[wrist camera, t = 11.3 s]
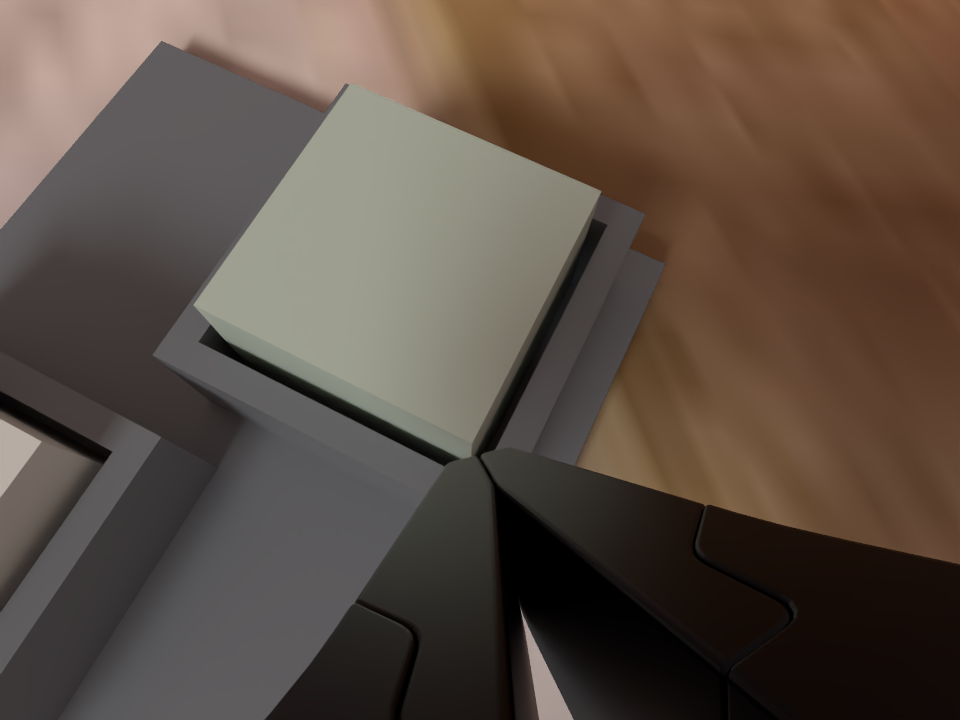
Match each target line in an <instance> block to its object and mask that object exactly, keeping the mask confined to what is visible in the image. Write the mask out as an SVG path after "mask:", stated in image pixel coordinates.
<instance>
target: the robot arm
mask: <svg viewBox="0 0 960 720" xmlns="http://www.w3.org/2000/svg"><path fill="white" fill-rule="evenodd" d="M520 607H521V610H522V613H523V616H524V618H525V620H526V622H527V625H528V627H529V629H530V631H531V633H532V635H533V638H534V640H535V642H536V644H537V646H538V648H539V650H540V652H541V654H542V656H543V658H544V660H545V662H546V664H547V666H548V668H549V670H550V672H551V674H552V676H553V678H554V680H555V682H556V684H557V686H558V688H559V690H560V693H561V695H562V697H563V699H564V701H565V703H566V705H567V707H568V709H569V711H570V713H571V715H572V717H573V719H574V720H960V564H956V563H951V562H946V561H942V560H937V559H932V558H928V557H923V556H918V555H914V554H909V553H904V552H900V551H895V550H891V549H886V548H881V547H877V546H872V545H867V544H863V543H858V542H853V541H849V540H844V539H840V538H836V537H831V536H827V535H822V534H818V533H814V532H809V531H805V530H801V529H796V528H792V527H788V526H784V525H780V524H776V523H773V522H769V521H765V520H761V519H758V518H754V517H750V516H747V515H743V514H739V513H736V512H733V511H729V510H726V509H723V508H719V507H716V506H713V505H707V506H706V507H705V506H704V505H703V504H701V503H698V502H695V501H691V500H688V499H684V498H681V497H678V496H674V495H671V494H668V493H664V492H661V491H657V490H654V489H651V488H647V487H644V486H641V485H637V484H634V483H630V482H627V481H624V480H620V479H617V478H613V477H610V476H607V475H603V474H600V473H597V472H593V471H590V470H586V469H583V468H580V467H576V466H573V465H569V464H566V463H563V462H559V461H556V460H553V459H549V458H546V457H542V456H539V455H536V454H532V453H529V452H526V451H522V450H519V449H515V448H512V447H506V448H502V449H498V450H494V451H490V452H487V453H484V454H482V455H481V458H480V459H479V458H478V457H476V456H471V457H467V458H464V459H460V460H456V461H452V462H449V463H448V464H447V465H446V466H445V467H444V469H443V470H442V472H441V473H440V475H439V476H438V478H437V479H436V481H435V482H434V484H433V485H432V487H431V488H430V490H429V491H428V493H427V494H426V496H425V497H424V499H423V500H422V502H421V503H420V505H419V506H418V508H417V509H416V511H415V512H414V514H413V515H412V517H411V518H410V520H409V521H408V523H407V524H406V526H405V527H404V529H403V530H402V532H401V533H400V535H399V536H398V538H397V539H396V541H395V542H394V544H393V545H392V547H391V548H390V550H389V551H388V553H387V554H386V556H385V557H384V559H383V560H382V562H381V563H380V565H379V566H378V568H377V569H376V571H375V572H374V574H373V575H372V577H371V578H370V580H369V581H368V583H367V584H366V586H365V587H364V589H363V590H362V592H361V593H360V595H359V596H358V598H357V599H356V601H355V603H354V604H353V605H351V606H350V608H349V609H348V611H347V612H346V613H345V615H344V616H343V618H342V619H341V621H340V622H339V624H338V625H337V627H336V628H335V630H334V631H333V633H332V634H331V635H330V637H329V638H328V639H327V641H326V642H325V644H324V645H323V646H322V648H321V649H320V651H319V652H318V653H317V655H316V656H315V658H314V659H313V660H312V662H311V663H310V664H309V666H308V667H307V668H306V669H305V671H304V672H303V673H302V674H301V676H300V677H299V678H298V679H297V681H296V682H295V683H294V684H293V685H292V687H291V688H290V689H289V690H288V692H287V693H286V694H285V695H284V697H283V698H282V699H281V700H280V702H279V703H278V704H277V705H276V707H275V708H274V709H273V710H272V711H271V713H270V714H269V715H268V716H267V717H266V718H265V720H539V716H538V710H537V704H536V698H535V691H534V685H533V679H532V673H531V666H530V660H529V654H528V648H527V641H526V635H525V630H524V625H523V620H522V615H521V610H520Z"/></svg>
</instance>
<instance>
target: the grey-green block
mask: <svg viewBox="0 0 960 720" xmlns="http://www.w3.org/2000/svg"><path fill="white" fill-rule="evenodd" d="M601 192H602V191H600V190H598V189H595V188H593V187H591V186H589V185H586V184H584V183H582V182H579V181H577V180H575V179H572V178H570V177H568V176H565V175H563V174H561V173H559V172H556V171H554V170H552V169H549V168H547V167H545V166H542V165H540V164H538V163H535V162H533V161H531V160H529V159H526V158H524V157H522V156H519V155H517V154H515V153H512V152H510V151H508V150H505V149H503V148H501V147H499V146H496V145H494V144H492V143H489V142H487V141H485V140H482V139H480V138H478V137H475V136H473V135H471V134H469V133H466V132H464V131H462V130H459V129H457V128H455V127H452V126H450V125H448V124H445V123H443V122H441V121H439V120H436V119H434V118H432V117H429V116H427V115H425V114H422V113H420V112H418V111H415V110H413V109H411V108H409V107H406V106H404V105H402V104H399V103H397V102H395V101H392V100H390V99H388V98H385V97H383V96H381V95H379V94H376V93H374V92H372V91H369V90H367V89H365V88H362V87H360V86H358V85H355V84H353V83H350V85H349V86H348V88H347V89H346V90H345V92H344V93H343V95H342V96H341V97H340V99H339V100H338V102H337V103H336V105H335V106H334V107H333V109H332V110H331V112H330V113H329V114H328V116H327V117H326V119H325V120H324V121H323V123H322V124H321V126H320V127H319V129H318V130H317V131H316V133H315V134H314V136H313V137H312V138H311V140H310V141H309V143H308V144H307V145H306V147H305V148H304V150H303V151H302V152H301V154H300V155H299V157H298V158H297V160H296V161H295V162H294V164H293V165H292V167H291V168H290V169H289V171H288V172H287V174H286V175H285V176H284V178H283V179H282V181H281V182H280V184H279V185H278V186H277V188H276V189H275V191H274V192H273V193H272V195H271V196H270V198H269V199H268V200H267V202H266V203H265V205H264V206H263V207H262V209H261V210H260V212H259V213H258V215H257V216H256V217H255V219H254V220H253V222H252V223H251V224H250V226H249V227H248V229H247V230H246V231H245V233H244V234H243V236H242V237H241V238H240V240H239V241H238V243H237V244H236V246H235V247H234V248H233V250H232V251H231V253H230V254H229V255H228V257H227V258H226V260H225V261H224V262H223V264H222V265H221V267H220V268H219V270H218V271H217V272H216V274H215V275H214V277H213V278H212V279H211V281H210V282H209V284H208V285H207V286H206V288H205V289H204V291H203V292H202V293H201V295H200V296H199V298H198V299H197V301H196V302H195V303H194V306H195V307H196V309H197V310H198V311H199V312H200V313H201V314H202V315H203V316H204V317H205V319H206V320H207V321H208V322H209V323H210V324H211V325H212V326H213V327H214V328H215V330H216V331H217V332H218V333H219V334H220V335H221V336H222V337H223V338H224V340H225V341H226V342H227V343H228V344H229V345H230V346H231V347H232V348H233V349H234V351H235V352H236V353H237V354H238V355H239V356H240V357H241V358H242V359H243V360H244V362H245V363H246V364H247V365H248V366H249V367H250V368H251V369H253V370H255V371H257V372H259V373H261V374H263V375H264V376H266V377H268V378H270V379H272V380H274V381H276V382H278V383H280V384H282V385H284V386H286V387H288V388H290V389H292V390H294V391H296V392H298V393H300V394H302V395H304V396H306V397H308V398H310V399H312V400H314V401H316V402H318V403H320V404H322V405H324V406H326V407H328V408H330V409H332V410H334V411H336V412H338V413H340V414H342V415H344V416H346V417H348V418H350V419H351V420H353V421H355V422H357V423H359V424H361V425H363V426H365V427H367V428H369V429H371V430H373V431H375V432H377V433H379V434H381V435H383V436H385V437H387V438H389V439H391V440H393V441H395V442H397V443H399V444H401V445H403V446H405V447H407V448H409V449H411V450H413V451H415V452H417V453H419V454H421V455H423V456H425V457H427V458H429V459H431V460H433V461H435V462H437V463H438V464H440V465H442V466H444V467H445V466H446V465H447V464H448V463H449V462H452V461H456V460H460V459H464V458H467V457H471V456H476V457H478V458H479V459H480V458H481V455H482V454H484V453H486V451H487V449H488V447H489V445H490V443H491V441H492V439H493V437H494V435H495V433H496V431H497V429H498V427H499V425H500V423H501V421H502V419H503V417H504V415H505V413H506V411H507V409H508V407H509V405H510V403H511V401H512V399H513V397H514V395H515V393H516V391H517V389H518V387H519V385H520V383H521V381H522V379H523V377H524V375H525V373H526V371H527V369H528V367H529V365H530V363H531V362H532V360H533V358H534V356H535V354H536V352H537V350H538V348H539V346H540V344H541V342H542V340H543V338H544V336H545V334H546V332H547V330H548V328H549V326H550V324H551V322H552V320H553V318H554V316H555V314H556V312H557V310H558V308H559V306H560V304H561V302H562V300H563V298H564V296H565V294H566V292H567V290H568V288H569V285H570V282H571V279H572V276H573V273H574V270H575V267H576V264H577V261H578V259H579V256H580V253H581V250H582V247H583V244H584V241H585V238H586V235H587V232H588V229H589V226H590V224H591V221H592V218H593V215H594V212H595V209H596V206H597V203H598V200H599V197H600V194H601Z"/></svg>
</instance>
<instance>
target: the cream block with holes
mask: <svg viewBox="0 0 960 720" xmlns="http://www.w3.org/2000/svg"><path fill="white" fill-rule="evenodd" d="M106 460H107V458H105V457H103V456H101V455H99V454H98V453H96V452H94V451H92V450H90V449H88V448H86V447H85V446H83V445H81V444H79V443H77V442H75V441H74V440H72V439H70V438H68V437H66V436H64V435H63V434H61V433H59V432H57V431H55V430H53V429H51V428H50V427H48V426H46V425H44V424H42V423H40V422H39V421H37V420H35V419H33V418H31V417H29V416H28V415H26V414H24V413H22V412H20V411H18V410H16V409H15V408H13V407H11V406H9V405H7V404H5V403H4V402H2V401H0V612H1V611H2V610H3V608H4V607H5V605H6V604H7V602H8V601H9V600H10V598H11V597H12V595H13V594H14V592H15V591H16V589H17V588H18V587H19V585H20V584H21V582H22V581H23V579H24V578H25V577H26V575H27V574H28V572H29V571H30V569H31V568H32V567H33V565H34V564H35V562H36V561H37V559H38V558H39V557H40V555H41V554H42V552H43V551H44V549H45V548H46V546H47V545H48V544H49V542H50V541H51V539H52V538H53V536H54V535H55V534H56V532H57V531H58V529H59V528H60V526H61V525H62V524H63V522H64V521H65V519H66V518H67V516H68V515H69V513H70V512H71V511H72V509H73V508H74V506H75V505H76V503H77V502H78V501H79V499H80V498H81V496H82V495H83V493H84V492H85V491H86V489H87V488H88V486H89V485H90V483H91V482H92V480H93V479H94V478H95V476H96V475H97V473H98V472H99V470H100V469H101V468H102V466H103V465H104V463H105V462H106Z"/></svg>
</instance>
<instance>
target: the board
mask: <svg viewBox="0 0 960 720" xmlns="http://www.w3.org/2000/svg"><path fill="white" fill-rule="evenodd" d="M348 86H349V85H348V84H345V85H344V87H343V88H342V89H341V91H340V92H339V94H338V95H337V96H336V98H335V99H334V101H333V102H332V103H331V105H330V106H329V108H328V109H327V110H326V112H325V113H323V112H321V111H319V110H317V109H314V108H312V107H310V106H307V105H305V104H303V103H301V102H298V101H296V100H294V99H292V98H289V97H287V96H285V95H283V94H280V93H278V92H276V91H274V90H271V89H269V88H267V87H265V86H262V85H260V84H258V83H255V82H253V81H251V80H249V79H246V78H244V77H242V76H240V75H237V74H235V73H233V72H231V71H228V70H226V69H224V68H222V67H219V66H217V65H215V64H213V63H210V62H208V61H206V60H204V59H201V58H199V57H197V56H194V55H192V54H190V53H188V52H185V51H183V50H181V49H179V48H176V47H174V46H172V45H170V44H167V43H165V42H163V41H161V42H160V43H159V45H158V46H157V47H156V48H155V49H154V50H153V52H152V53H151V54H150V55H149V56H148V57H147V59H146V60H145V61H144V62H143V63H142V65H141V66H140V67H139V68H138V69H137V70H136V72H135V73H134V74H133V75H132V76H131V77H130V79H129V80H128V81H127V82H126V83H125V84H124V86H123V87H122V88H121V89H120V90H119V91H118V93H117V94H116V95H115V96H114V97H113V99H112V100H111V101H110V102H109V103H108V104H107V106H106V107H105V108H104V109H103V110H102V111H101V113H100V114H99V115H98V116H97V117H96V118H95V120H94V121H93V122H92V123H91V124H90V125H89V127H88V128H87V129H86V130H85V131H84V133H83V134H82V135H81V136H80V137H79V138H78V140H77V141H76V142H75V143H74V144H73V145H72V147H71V148H70V149H69V150H68V151H67V152H66V154H65V155H64V156H63V157H62V158H61V159H60V161H59V162H58V163H57V164H56V165H55V166H54V168H53V169H52V170H51V171H50V172H49V174H48V175H47V176H46V177H45V178H44V179H43V181H42V182H41V183H40V184H39V185H38V186H37V188H36V189H35V190H34V191H33V192H32V193H31V195H30V196H29V197H28V198H27V199H26V200H25V202H24V203H23V204H22V205H21V206H20V208H19V209H18V210H17V211H16V212H15V213H14V215H13V216H12V217H11V218H10V219H9V220H8V222H7V223H6V224H5V225H4V226H3V227H2V229H1V230H0V401H2V402H4V403H5V404H7V405H9V406H11V407H13V408H15V409H16V410H18V411H20V412H22V413H24V414H26V415H28V416H29V417H31V418H33V419H35V420H37V421H39V422H40V423H42V424H44V425H46V426H48V427H50V428H51V429H53V430H55V431H57V432H59V433H61V434H63V435H64V436H66V437H68V438H70V439H72V440H74V441H75V442H77V443H79V444H81V445H83V446H85V447H86V448H88V449H90V450H92V451H94V452H96V453H98V454H99V455H101V456H103V457H105V458H107V460H106V462H105V463H104V465H103V466H102V468H101V469H100V470H99V472H98V473H97V475H96V476H95V478H94V479H93V480H92V482H91V483H90V485H89V486H88V488H87V489H86V491H85V492H84V493H83V495H82V496H81V498H80V499H79V501H78V502H77V503H76V505H75V506H74V508H73V509H72V511H71V512H70V513H69V515H68V516H67V518H66V519H65V521H64V522H63V524H62V525H61V526H60V528H59V529H58V531H57V532H56V534H55V535H54V536H53V538H52V539H51V541H50V542H49V544H48V545H47V546H46V548H45V549H44V551H43V552H42V554H41V555H40V557H39V558H38V559H37V561H36V562H35V564H34V565H33V567H32V568H31V569H30V571H29V572H28V574H27V575H26V577H25V578H24V579H23V581H22V582H21V584H20V585H19V587H18V588H17V589H16V591H15V592H14V594H13V595H12V597H11V598H10V600H9V601H8V602H7V604H6V605H5V607H4V608H3V610H2V611H1V612H0V720H265V718H266V717H267V716H268V715H269V714H270V713H271V711H272V710H273V709H274V708H275V707H276V705H277V704H278V703H279V702H280V700H281V699H282V698H283V697H284V695H285V694H286V693H287V692H288V690H289V689H290V688H291V687H292V685H293V684H294V683H295V682H296V681H297V679H298V678H299V677H300V676H301V674H302V673H303V672H304V671H305V669H306V668H307V667H308V666H309V664H310V663H311V662H312V660H313V659H314V658H315V656H316V655H317V653H318V652H319V651H320V649H321V648H322V646H323V645H324V644H325V642H326V641H327V639H328V638H329V637H330V635H331V634H332V633H333V631H334V630H335V628H336V627H337V625H338V624H339V622H340V621H341V619H342V618H343V616H344V615H345V613H346V612H347V611H348V609H349V608H350V606H351V605H353V604H354V603H355V601H356V599H357V598H358V596H359V595H360V593H361V592H362V590H363V589H364V587H365V586H366V584H367V583H368V581H369V580H370V578H371V577H372V575H373V574H374V572H375V571H376V569H377V568H378V566H379V565H380V563H381V562H382V560H383V559H384V557H385V556H386V554H387V553H388V551H389V550H390V548H391V547H392V545H393V544H394V542H395V541H396V539H397V538H398V536H399V535H400V533H401V532H402V530H403V529H404V527H405V526H406V524H407V523H408V521H409V520H410V518H411V517H412V515H413V514H414V512H415V511H416V509H417V508H418V506H419V505H420V503H421V502H422V500H423V499H424V497H425V496H426V494H427V493H428V491H429V490H430V488H431V487H432V485H433V484H434V482H435V481H436V479H437V478H438V476H439V475H440V473H441V472H442V470H443V469H444V466H442V465H440V464H438V463H437V462H435V461H433V460H431V459H429V458H427V457H425V456H423V455H421V454H419V453H417V452H415V451H413V450H411V449H409V448H407V447H405V446H403V445H401V444H399V443H397V442H395V441H393V440H391V439H389V438H387V437H385V436H383V435H381V434H379V433H377V432H375V431H373V430H371V429H369V428H367V427H365V426H363V425H361V424H359V423H357V422H355V421H353V420H351V419H350V418H348V417H346V416H344V415H342V414H340V413H338V412H336V411H334V410H332V409H330V408H328V407H326V406H324V405H322V404H320V403H318V402H316V401H314V400H312V399H310V398H308V397H306V396H304V395H302V394H300V393H298V392H296V391H294V390H292V389H290V388H288V387H286V386H284V385H282V384H280V383H278V382H276V381H274V380H272V379H270V378H268V377H266V376H264V375H263V374H261V373H259V372H257V371H255V370H253V369H251V368H250V367H249V366H248V365H247V364H246V363H245V362H244V360H243V359H242V358H241V357H240V356H239V355H238V354H237V353H236V352H235V351H234V349H233V348H232V347H231V346H230V345H229V344H228V343H227V342H226V341H225V340H224V338H223V337H222V336H221V335H220V334H219V333H218V332H217V331H216V330H215V328H214V327H213V326H212V325H211V324H210V323H209V322H208V321H207V320H206V319H205V317H204V316H203V315H202V314H201V313H200V312H199V311H198V310H197V309H196V307H195V306H194V303H195V302H196V301H197V299H198V298H199V296H200V295H201V293H202V292H203V291H204V289H205V288H206V286H207V285H208V284H209V282H210V281H211V279H212V278H213V277H214V275H215V274H216V272H217V271H218V270H219V268H220V267H221V265H222V264H223V262H224V261H225V260H226V258H227V257H228V255H229V254H230V253H231V251H232V250H233V248H234V247H235V246H236V244H237V243H238V241H239V240H240V238H241V237H242V236H243V234H244V233H245V231H246V230H247V229H248V227H249V226H250V224H251V223H252V222H253V220H254V219H255V217H256V216H257V215H258V213H259V212H260V210H261V209H262V207H263V206H264V205H265V203H266V202H267V200H268V199H269V198H270V196H271V195H272V193H273V192H274V191H275V189H276V188H277V186H278V185H279V184H280V182H281V181H282V179H283V178H284V176H285V175H286V174H287V172H288V171H289V169H290V168H291V167H292V165H293V164H294V162H295V161H296V160H297V158H298V157H299V155H300V154H301V152H302V151H303V150H304V148H305V147H306V145H307V144H308V143H309V141H310V140H311V138H312V137H313V136H314V134H315V133H316V131H317V130H318V129H319V127H320V126H321V124H322V123H323V121H324V120H325V119H326V117H327V116H328V114H329V113H330V112H331V110H332V109H333V107H334V106H335V105H336V103H337V102H338V100H339V99H340V97H341V96H342V95H343V93H344V92H345V90H346V89H347V88H348ZM645 215H646V214H645V213H643V212H641V211H638V210H636V209H634V208H631V207H629V206H627V205H625V204H622V203H620V202H618V201H615V200H613V199H611V198H608V197H606V196H604V195H601V194H600V197H599V200H598V203H597V206H596V209H595V212H594V215H593V218H592V221H591V224H590V226H589V229H588V232H587V235H586V238H585V241H584V244H583V247H582V250H581V253H580V256H579V259H578V261H577V264H576V267H575V270H574V273H573V276H572V279H571V282H570V285H569V288H568V290H567V292H566V294H565V296H564V298H563V300H562V302H561V304H560V306H559V308H558V310H557V312H556V314H555V316H554V318H553V320H552V322H551V324H550V326H549V328H548V330H547V332H546V334H545V336H544V338H543V340H542V342H541V344H540V346H539V348H538V350H537V352H536V354H535V356H534V358H533V360H532V362H531V363H530V365H529V367H528V369H527V371H526V373H525V375H524V377H523V379H522V381H521V383H520V385H519V387H518V389H517V391H516V393H515V395H514V397H513V399H512V401H511V403H510V405H509V407H508V409H507V411H506V413H505V415H504V417H503V419H502V421H501V423H500V425H499V427H498V429H497V431H496V433H495V435H494V437H493V439H492V441H491V443H490V445H489V447H488V449H487V451H486V453H487V452H490V451H494V450H498V449H502V448H506V447H512V448H515V449H519V450H522V451H526V452H529V453H532V454H536V455H539V456H542V457H546V458H549V459H553V460H556V461H559V462H563V463H566V464H569V465H573V466H574V465H575V463H576V461H577V458H578V456H579V454H580V452H581V450H582V447H583V445H584V443H585V441H586V439H587V436H588V434H589V432H590V430H591V428H592V425H593V423H594V421H595V419H596V417H597V415H598V412H599V410H600V408H601V406H602V404H603V401H604V399H605V397H606V395H607V393H608V390H609V388H610V386H611V384H612V382H613V379H614V377H615V375H616V373H617V371H618V368H619V366H620V364H621V362H622V360H623V357H624V355H625V353H626V351H627V349H628V346H629V344H630V342H631V340H632V338H633V335H634V333H635V331H636V329H637V327H638V324H639V322H640V320H641V318H642V316H643V313H644V311H645V309H646V307H647V305H648V302H649V300H650V298H651V296H652V294H653V291H654V289H655V287H656V285H657V283H658V280H659V278H660V276H661V274H662V272H663V269H664V267H665V265H666V264H665V263H662V262H660V261H658V260H656V259H653V258H651V257H649V256H646V255H644V254H642V253H640V252H637V251H635V250H633V249H631V248H630V246H631V244H632V242H633V240H634V238H635V236H636V234H637V232H638V230H639V227H640V225H641V223H642V221H643V219H644V217H645Z"/></svg>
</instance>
